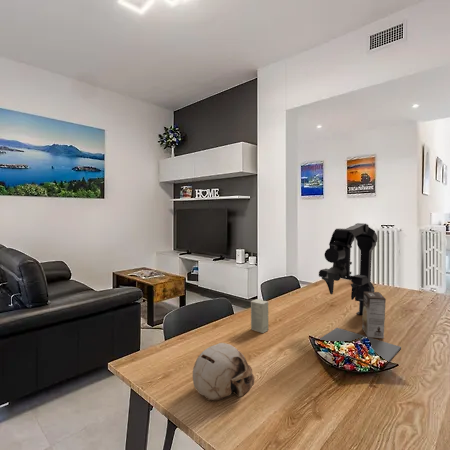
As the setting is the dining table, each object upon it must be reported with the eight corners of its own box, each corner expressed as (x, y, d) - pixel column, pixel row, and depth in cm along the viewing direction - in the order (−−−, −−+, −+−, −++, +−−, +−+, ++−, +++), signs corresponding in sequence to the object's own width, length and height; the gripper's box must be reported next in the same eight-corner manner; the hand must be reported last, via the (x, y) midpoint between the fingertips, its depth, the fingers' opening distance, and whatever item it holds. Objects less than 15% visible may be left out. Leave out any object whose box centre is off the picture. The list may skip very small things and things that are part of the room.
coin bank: (255, 373, 91) (254, 332, 89) (248, 418, 74) (246, 369, 72) (206, 369, 94) (203, 329, 92) (188, 411, 77) (185, 364, 75)
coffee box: (361, 328, 126) (362, 290, 125) (377, 329, 125) (379, 291, 124) (367, 337, 117) (368, 297, 116) (384, 338, 116) (386, 298, 115)
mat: (337, 328, 125) (337, 327, 125) (401, 348, 108) (401, 346, 108) (313, 344, 111) (313, 342, 111) (382, 369, 94) (382, 367, 94)
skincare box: (268, 330, 123) (269, 301, 122) (262, 333, 120) (263, 304, 119) (256, 326, 127) (256, 298, 126) (250, 329, 124) (250, 300, 123)
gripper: (311, 258, 124) (310, 295, 125) (355, 265, 109) (353, 307, 110) (326, 255, 131) (325, 290, 132) (369, 261, 116) (367, 300, 117)
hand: (341, 296), depth 123 cm, fingers open, 9 cm apart
